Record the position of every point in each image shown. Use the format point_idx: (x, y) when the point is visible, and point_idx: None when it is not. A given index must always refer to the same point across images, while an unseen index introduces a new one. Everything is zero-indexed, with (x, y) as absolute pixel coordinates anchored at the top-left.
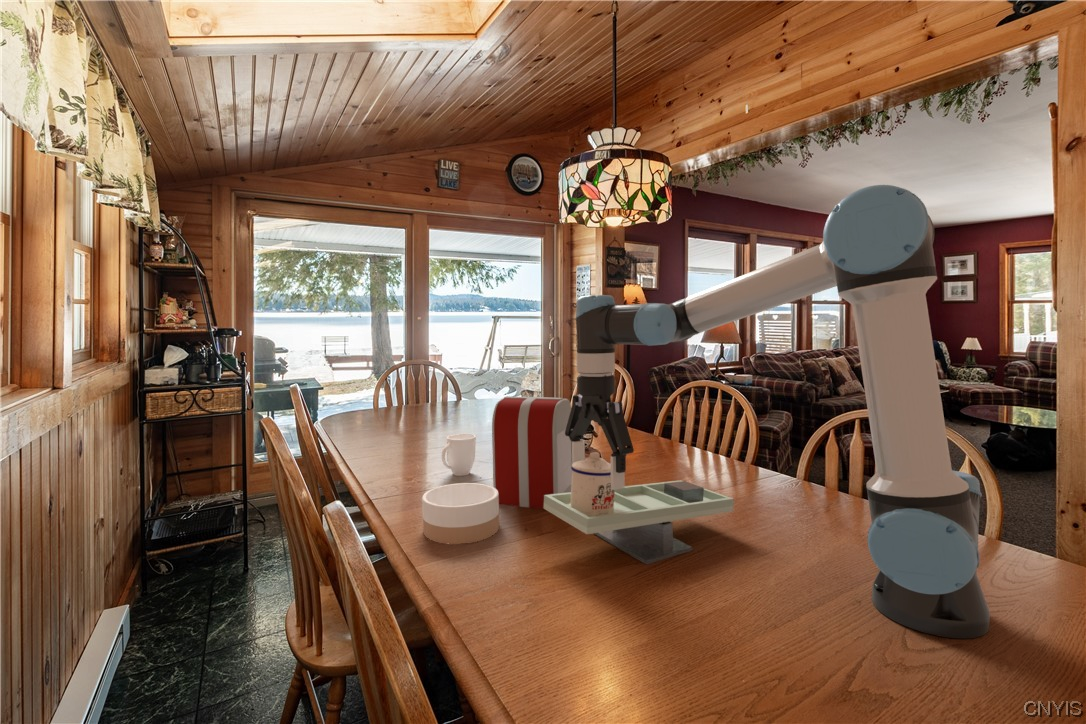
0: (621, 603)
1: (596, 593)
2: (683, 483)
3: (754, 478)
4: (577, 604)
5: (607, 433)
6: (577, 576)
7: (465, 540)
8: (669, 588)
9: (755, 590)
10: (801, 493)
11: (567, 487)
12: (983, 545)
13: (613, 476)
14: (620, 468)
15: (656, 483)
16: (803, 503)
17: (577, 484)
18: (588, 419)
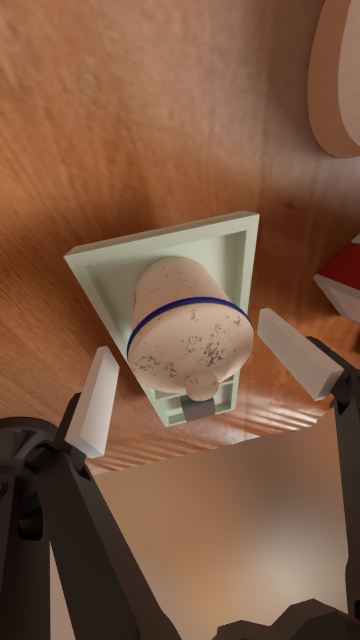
0: (24, 252)
1: (53, 230)
2: (206, 412)
3: (248, 430)
4: (15, 184)
5: (73, 577)
6: (109, 224)
7: (326, 9)
8: (65, 316)
9: (58, 373)
10: (209, 440)
11: (345, 309)
12: (110, 467)
13: (89, 374)
14: (68, 409)
15: (235, 392)
16: (195, 436)
17: (166, 286)
18: (333, 623)
